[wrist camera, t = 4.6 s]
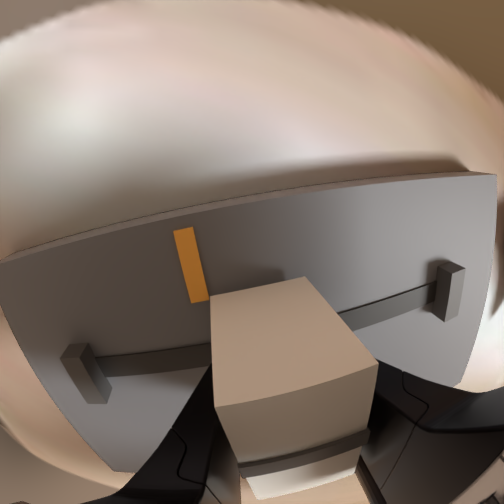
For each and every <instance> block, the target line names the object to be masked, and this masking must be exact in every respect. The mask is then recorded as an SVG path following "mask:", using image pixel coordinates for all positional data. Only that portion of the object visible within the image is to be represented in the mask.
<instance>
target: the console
mask: <svg viewBox="0 0 504 504" xmlns="http://www.w3.org/2000/svg"><path fill="white" fill-rule="evenodd" d="M496 218H497V175H496V174H489V173H481V172H473V171H463V172H442V173H426V174H413V175H400V176H389V177H379V178H369V179H360V180H351V181H343V182H335V183H327V184H319V185H312V186H305V187H298V188H291V189H285V190H279V191H272V192H266V193H260V194H254V195H248V196H243V197H237V198H232V199H226V200H221V201H216V202H211V203H206V204H201V205H196V206H191V207H186V208H181V209H177V210H172V211H168V212H163V213H159V214H154V215H150V216H146V217H141V218H137V219H133V220H129V221H125V222H121V223H117V224H113V225H109V226H105V227H101V228H98V229H94V230H90V231H86V232H83V233H79V234H76V235H72V236H69V237H65V238H62V239H58V240H55V241H52V242H48V243H45V244H42V245H39V246H35V247H32V248H29V249H26V250H23V251H20V252H17V253H14V254H11V255H9V256H7V257H6V258H4V259H2V260H0V305H1V308H2V310H3V312H4V315H5V317H6V319H7V321H8V324H9V326H10V328H11V330H12V332H13V334H14V336H15V338H16V340H17V342H18V344H19V346H20V348H21V350H22V351H23V353H24V355H25V357H26V359H27V360H28V362H29V364H30V366H31V367H32V369H33V371H34V372H35V374H36V376H37V377H38V379H39V380H40V382H41V384H42V385H43V387H44V388H45V390H46V391H47V393H48V394H49V396H50V397H51V398H52V400H53V401H54V403H55V404H56V405H57V407H58V408H59V410H60V411H61V412H62V414H63V415H64V416H65V417H66V419H67V420H68V421H69V423H70V424H71V425H72V426H73V428H74V429H75V430H76V431H77V432H78V434H79V435H80V436H81V437H82V438H83V439H84V441H85V442H86V443H87V444H88V445H89V446H90V447H91V448H92V449H93V450H94V452H95V453H96V454H97V455H98V456H99V457H100V458H101V459H102V460H103V461H104V462H105V463H106V464H107V465H108V466H109V467H110V468H111V469H112V470H113V471H116V472H130V473H137V471H138V470H139V469H140V468H141V467H142V466H143V465H144V463H145V462H146V461H147V460H148V459H149V458H150V456H151V455H152V454H153V453H154V451H155V450H156V449H157V448H158V446H159V445H160V443H161V442H162V440H163V439H164V437H165V436H166V434H167V433H168V431H169V430H170V428H171V427H172V425H173V423H174V422H175V420H176V419H177V417H178V415H179V414H180V412H181V411H182V409H183V407H184V406H185V404H186V402H187V401H188V399H189V398H190V396H191V394H192V393H193V391H194V389H195V388H196V386H197V385H198V383H199V381H200V380H201V378H202V376H203V375H204V373H205V371H206V370H207V368H208V366H209V365H210V363H211V362H212V348H211V314H210V296H214V295H219V294H224V293H229V292H234V291H239V290H244V289H249V288H254V287H258V286H263V285H268V284H273V283H277V282H282V281H286V280H291V279H296V278H300V277H304V276H305V277H306V278H307V279H308V280H309V282H310V283H311V284H312V285H313V286H314V287H315V289H316V290H317V291H318V292H319V293H320V294H321V295H322V297H323V298H324V299H325V300H326V301H327V302H328V304H329V305H330V306H331V307H332V308H333V309H334V311H335V312H336V313H337V314H338V315H339V316H340V318H341V319H342V320H343V321H344V322H345V324H346V325H347V326H348V327H349V328H350V329H351V331H352V332H353V333H354V334H355V335H356V337H357V338H358V339H359V340H360V341H361V343H362V344H363V345H364V346H365V347H366V348H367V350H368V351H369V352H370V353H371V355H372V356H373V357H374V358H376V359H378V360H380V361H383V362H385V363H387V364H389V365H392V366H394V367H396V368H399V369H401V370H402V372H403V371H406V372H408V373H410V374H413V375H415V376H418V377H421V378H423V379H426V380H429V381H432V382H435V383H438V384H442V385H445V386H449V387H454V386H455V385H457V384H458V383H460V382H461V380H462V377H463V374H464V372H465V369H466V366H467V364H468V361H469V358H470V355H471V352H472V349H473V346H474V343H475V340H476V336H477V333H478V329H479V326H480V322H481V318H482V314H483V310H484V306H485V301H486V297H487V292H488V287H489V281H490V275H491V269H492V262H493V254H494V245H495V234H496Z"/></svg>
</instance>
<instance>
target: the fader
mask: <svg viewBox="0 0 504 504" xmlns="http://www.w3.org/2000/svg"><path fill="white" fill-rule="evenodd" d="M210 314H211V348H212V372H213V391H214V407H215V410H216V412H217V415H218V417H219V420H220V422H221V424H222V427H223V429H224V431H225V434H226V436H227V438H228V440H229V443H230V445H231V447H232V449H233V452H234V454H235V456H236V458H237V460H238V462H239V463H237V467H238V470H239V472H240V474H241V476H242V478H246V479H247V481H248V483H249V485H250V487H251V489H252V491H253V493H254V494H255V496H256V498H257V500H261V499H267V498H272V497H277V496H281V495H286V494H290V493H294V492H298V491H302V490H306V489H310V488H313V487H316V486H320V485H323V484H326V483H329V482H332V481H335V480H338V479H341V478H344V477H347V476H349V475H352V474H354V472H355V469H356V465H357V462H358V459H359V455H360V452H361V448H362V446H363V445H365V444H367V442H368V439H369V435H370V430H369V428H368V427H367V424H368V420H369V415H370V410H371V405H372V400H373V395H374V390H375V384H376V378H377V372H378V365H379V363H378V362H377V361H376V359H375V358H374V357H373V356H372V355H371V353H370V352H369V351H368V350H367V348H366V347H365V346H364V345H363V344H362V343H361V341H360V340H359V339H358V338H357V337H356V335H355V334H354V333H353V332H352V331H351V329H350V328H349V327H348V326H347V325H346V324H345V322H344V321H343V320H342V319H341V318H340V316H339V315H338V314H337V313H336V312H335V311H334V309H333V308H332V307H331V306H330V305H329V304H328V302H327V301H326V300H325V299H324V298H323V297H322V295H321V294H320V293H319V292H318V291H317V290H316V289H315V287H314V286H313V285H312V284H311V283H310V282H309V280H308V279H307V278H306V277H305V276H304V277H300V278H296V279H291V280H286V281H282V282H277V283H273V284H268V285H263V286H258V287H254V288H249V289H244V290H239V291H234V292H229V293H224V294H219V295H214V296H210Z"/></svg>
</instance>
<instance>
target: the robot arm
mask: <svg viewBox="0 0 504 504" xmlns="http://www.w3.org/2000/svg"><path fill="white" fill-rule="evenodd" d="M375 359H376V358H375ZM376 361H377V362H378V363H379V365H378V372H377V378H376V384H375V390H374V395H373V400H372V405H371V410H370V415H369V420H368V424H367V427H368V428H369V430H370V435H369V439H368V442H367V444H365V445H363V446H362V448H361V452H360V455H359V459H358V462H357V465H356V469H355V472H354V473H356V476H357V478H358V480H359V482H360V484H361V486H362V488H363V490H364V492H365V494H366V496H367V498H368V500H369V502H370V504H504V386H503V387H500V388H497V389H494V390H491V391H488V392H482V393H473V392H468V391H464V390H460V389H456V388H453V387H449V386H445V385H442V384H438V383H435V382H432V381H429V380H426V379H423V378H421V377H418V376H415V375H413V374H410V373H408V372H406V371H403V372H402V370H401V369H399V368H396V367H394V366H392V365H389V364H387V363H385V362H383V361H380V360H378V359H376ZM237 463H239V462H238V460H237V458H236V456H235V454H234V452H233V449H232V447H231V445H230V443H229V440H228V438H227V436H226V434H225V431H224V429H223V427H222V424H221V422H220V420H219V417H218V415H217V412H216V410H215V407H214V391H213V372H212V362H211V363H210V365H209V366H208V368H207V370H206V371H205V373H204V375H203V376H202V378H201V380H200V381H199V383H198V385H197V386H196V388H195V389H194V391H193V393H192V394H191V396H190V398H189V399H188V401H187V402H186V404H185V406H184V407H183V409H182V411H181V412H180V414H179V415H178V417H177V419H176V420H175V422H174V423H173V425H172V427H171V428H170V430H169V431H168V433H167V434H166V436H165V437H164V439H163V440H162V442H161V443H160V445H159V446H158V448H157V449H156V450H155V451H154V453H153V454H152V455H151V456H150V458H149V459H148V460H147V461H146V462H145V463H144V465H143V466H142V467H141V468H140V469H139V470H138V471H137V473H136V474H135V475H134V476H133V477H132V478H131V479H130V480H129V482H128V483H127V484H126V485H125V486H124V487H123V488H121V489H120V490H119V491H118V492H116V493H114V494H112V495H110V496H107V497H104V498H100V499H97V500H93V501H89V502H85V503H81V504H241V491H240V472H239V470H238V467H237ZM12 504H29V503H27V502H24V501H20V502H16V503H12Z"/></svg>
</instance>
